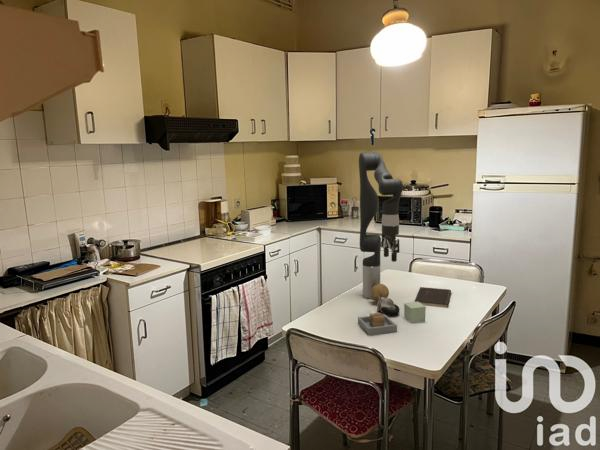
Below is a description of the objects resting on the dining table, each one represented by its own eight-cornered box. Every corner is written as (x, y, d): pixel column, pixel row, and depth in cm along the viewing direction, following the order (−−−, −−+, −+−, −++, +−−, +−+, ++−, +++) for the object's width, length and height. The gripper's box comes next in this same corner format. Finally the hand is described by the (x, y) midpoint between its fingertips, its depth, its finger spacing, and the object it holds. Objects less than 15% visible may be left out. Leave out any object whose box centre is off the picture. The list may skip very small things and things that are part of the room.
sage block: (404, 317, 212) (404, 303, 210) (417, 315, 213) (418, 301, 212) (410, 323, 205) (411, 308, 204) (425, 321, 206) (425, 306, 205)
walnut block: (369, 324, 203) (369, 313, 202) (380, 323, 204) (380, 312, 203) (373, 328, 198) (373, 317, 197) (384, 327, 199) (384, 316, 198)
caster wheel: (398, 321, 213) (377, 318, 213) (396, 308, 223) (375, 305, 224) (401, 309, 210) (380, 306, 211) (398, 296, 221) (378, 293, 221)
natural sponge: (380, 307, 224) (380, 288, 222) (366, 303, 231) (366, 284, 229) (392, 303, 230) (392, 284, 228) (378, 298, 237) (378, 280, 235)
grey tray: (357, 323, 206) (357, 317, 205) (384, 320, 208) (384, 314, 208) (368, 335, 193) (368, 328, 193) (397, 331, 196) (397, 325, 195)
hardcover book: (414, 305, 228) (414, 301, 227) (420, 291, 249) (420, 287, 248) (447, 308, 222) (448, 304, 221) (451, 293, 243) (451, 289, 242)
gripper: (376, 221, 209) (376, 256, 212) (389, 227, 196) (388, 263, 199) (391, 220, 211) (391, 254, 214) (405, 226, 197) (404, 262, 200)
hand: (390, 259), depth 206 cm, fingers open, 8 cm apart
